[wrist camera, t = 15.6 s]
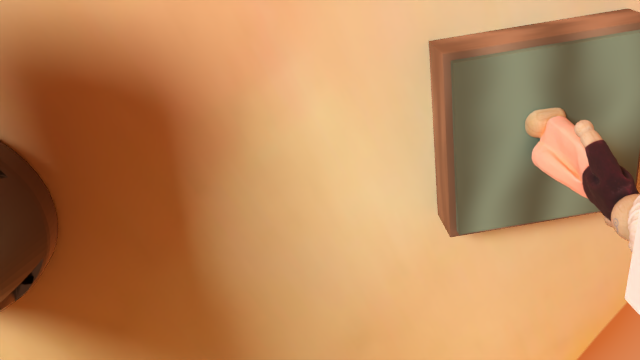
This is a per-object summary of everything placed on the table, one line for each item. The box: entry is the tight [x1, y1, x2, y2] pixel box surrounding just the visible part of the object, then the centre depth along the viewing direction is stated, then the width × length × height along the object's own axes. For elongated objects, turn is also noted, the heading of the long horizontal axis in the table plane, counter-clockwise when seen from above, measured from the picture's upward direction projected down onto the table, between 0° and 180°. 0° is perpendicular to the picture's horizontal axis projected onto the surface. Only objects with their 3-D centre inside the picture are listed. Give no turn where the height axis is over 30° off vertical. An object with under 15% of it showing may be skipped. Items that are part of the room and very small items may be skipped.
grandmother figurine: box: [525, 108, 640, 252], centre depth 34 cm, size 8×4×13 cm, turn 39°
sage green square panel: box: [429, 9, 640, 237], centre depth 42 cm, size 14×14×4 cm
